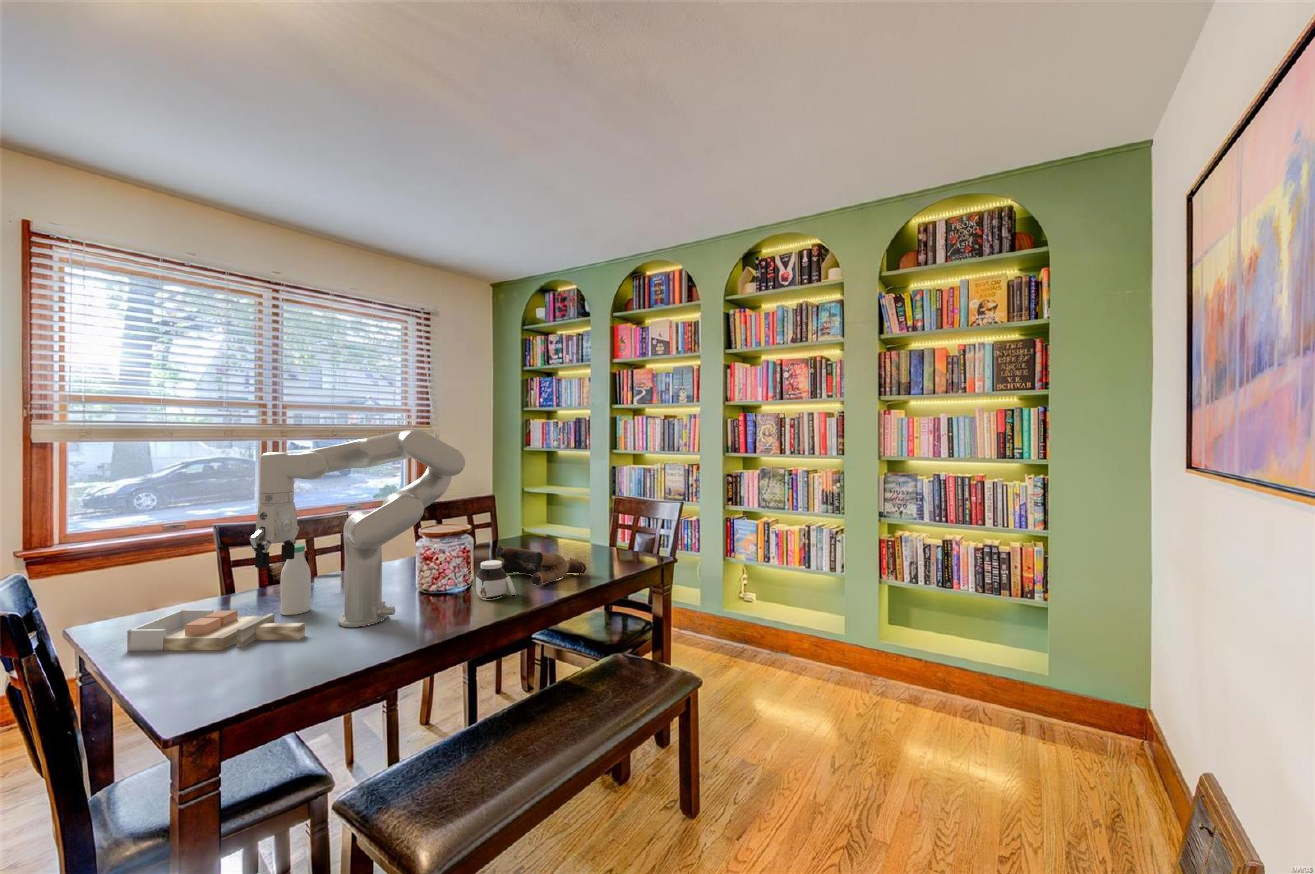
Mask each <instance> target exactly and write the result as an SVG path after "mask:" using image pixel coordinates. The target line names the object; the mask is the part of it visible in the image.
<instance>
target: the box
mask: <svg viewBox="0 0 1315 874" xmlns="http://www.w3.org/2000/svg"><path fill="white" fill-rule="evenodd" d="M214 612H215V611H214V609H180V610H177V611H174V612H172V613H170V614H167V615H164V616H162V617H160V618H156V619H154V620H151V621H149V622H146V623H144V624H141V625H138V626H136V627H133V628H131V629H127V636H126V638H127V643H126V644H127V645H126V646H127V647H126V648H127V649H126V650H127V652H133V651H134V652H137V651H138V652H140V651H141V652H142V651H143V652H145V651H148V652H149V651H151V652H152V651H155V652H158V651H164V638H166V637H169V636H171V635H173V634H176V633H178V632H180V631H182V630H185V625H186V624H188V623H190V622H193V621H195V620H198V619H200V618H204V617H205V616H207V615H209V614H212V613H214Z"/></svg>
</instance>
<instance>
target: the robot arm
mask: <svg viewBox="0 0 1315 874" xmlns="http://www.w3.org/2000/svg"><path fill="white" fill-rule="evenodd" d="M259 459H260V460H259V493H258V496H259V497H258V499H259V500H258V509H257V514H256V523H255V531H254V533H253V534H252V535H251V536H250V537H249V541H250V544H251V549H253V553H255V554H254V555H255V556H254V565H255V566H254V567H255V568H256V569H267V568H269V567H270V551H269V549H270V546H271V545H272V544H281V543H282V544H281V551H280V552H281V553H280V554H281V555H280V556H281V560H287V559H294V551H295V545H297V538H298V537H299V535H298V533H299V531H300V526H299V525H298V514H297V507H296V503H295V501H294V500H295V496H294V495H295V479H297V480H298V479H299V480H310V481H311V480H313V481H314V480H317V479H321V478H322V477H324V476H325V475H326V474H329V473H334V472H339V471H344V470H349V469H365V468H372V467H377V466H382V465H385V464H389V463H393V462H394V463H395V462H398V461H402V460H406V459H414V460H416V461H417V462H419V463H421V465H422V464H423V465H424V466H426V470H425V471H424V473H423V474H422V475H421V477H419V478H418V479H416V480H413V482H411V483H410V484H407V485H406V486H404V487H402V488H401V489H399V490H397V491H395V492H393V493H391V494H389V495H388V496H387V497H385V499H384V500H383V502H382V505H381V506H380V507H378V508H377V509H375V510H373V511H369V510H359V511H356V512H354V513H352V514H350V515H349V517H348V518H347V519H346V521H344V525H343V544H344V545H343V547H344V601H343V602H344V605H343V606H344V607H343V608H344V612H343V613H344V614H343V615H341V616H340V617H339V618H338V619H337V624H338V626H340V625H341V627H344V628H360V627H359V626H362V627H365V626H364V625H368V624H372V623H376V624H379V623H380V622H379V621H381V620H383V619H385V618H386V617H387V618H388V616H394V615H395V613H396V608H395V606H393V605H392V606H390V605H389V606H387V605H386V601H383V600H382V599H383V596H382V595H383V550H382V549H383V547H382V546H383V545H385V544H386V543H388V542H389V541H391V540H393V539H395V538H396V537H398V536H400V535H401V534H403V533H404V532H406V531H408V530H410V528H412V527H413V526H415V525H416V524H418V522H419V521H420V520H421V519H422V517H423V515H424V511H425V508H427V507H428V506H431V504H433V503H434V502H436V501H438V499H440V498H442V496H443V495H444V494H445V493H446V492H447V490H448V489H449V487H450V484H451V481H452V478H453V477H454V476H458V475H459V474H461V473H462V472H463V471H464V469H465V466H466V458H465V456H464V455H463V453H462V452H461V451H459V450H458V449H457V448H455V447H453V446H451V445H450V444H448V443H446V442H444V441H442V440H440V439H439V438H436V437H435V436H433V435H431V434H429V433H428V432H426V431H424V430H421V429H405V430H401V431H400V430H399V431H394V432H389V433H386V434H379V435H375V436H371V437H370V436H369V437H367V438H366V437H365V438H362V439H356V440H353V441H349V442H344V443H340V444H334V445H330V446H326V447H321V448H315V449H310V450H306V451H303V452H301V453H290V452H283V451H282V452H281V451H280V452H273V451H272V452H264V453H262V455H260V457H259ZM387 615H388V616H387ZM387 618H386V619H387ZM386 619H385V620H386ZM383 621H384V620H383ZM378 622H379V623H378ZM381 622H382V621H381ZM372 625H373V624H372ZM368 626H369V625H368Z"/></svg>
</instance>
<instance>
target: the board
mask: <svg viewBox="0 0 1315 874" xmlns="http://www.w3.org/2000/svg"><path fill="white" fill-rule="evenodd" d="M263 616H264V615H263ZM263 616H260V615H259V616H258V615H257V616H253V615H251V616H249V615H248V616H247V615H246V616H238V620H236V621H233V622H231V623H229V624H227V625H225V626H221V627H220V628H218V629H216V630H214V631H212V632H210V633H208V634H199V635H185V630H182V631H180V632H178V633H176V634H173V635H171V636H169V637H166V638H164V650H163V651H166V652H167V651H224V650H225V649H228V648H229V647H231V646H233V645H235V644H237V629H239V628H241V627H243V626H245V625H247V624H249V623H251V622H253V621H255V620H257V619H259V618H261V617H263Z"/></svg>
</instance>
